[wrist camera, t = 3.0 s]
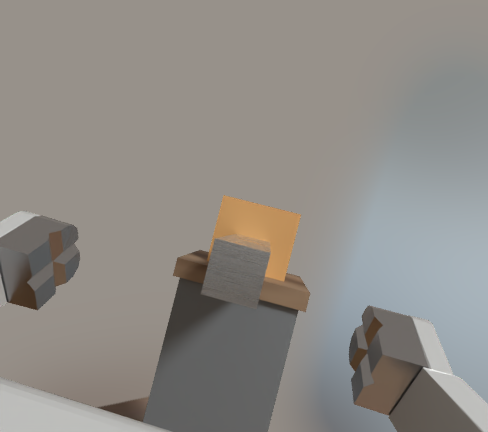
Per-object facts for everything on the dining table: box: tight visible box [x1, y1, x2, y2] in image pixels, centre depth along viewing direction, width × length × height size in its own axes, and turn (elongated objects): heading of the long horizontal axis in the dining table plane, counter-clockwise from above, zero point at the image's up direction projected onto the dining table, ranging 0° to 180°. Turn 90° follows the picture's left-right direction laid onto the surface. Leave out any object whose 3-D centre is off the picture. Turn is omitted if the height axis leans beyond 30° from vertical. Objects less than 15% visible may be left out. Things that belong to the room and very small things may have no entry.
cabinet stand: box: [143, 250, 310, 432], centre depth 31 cm, size 9×11×30 cm
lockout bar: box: [201, 195, 301, 309], centre depth 26 cm, size 18×7×6 cm, turn 176°
